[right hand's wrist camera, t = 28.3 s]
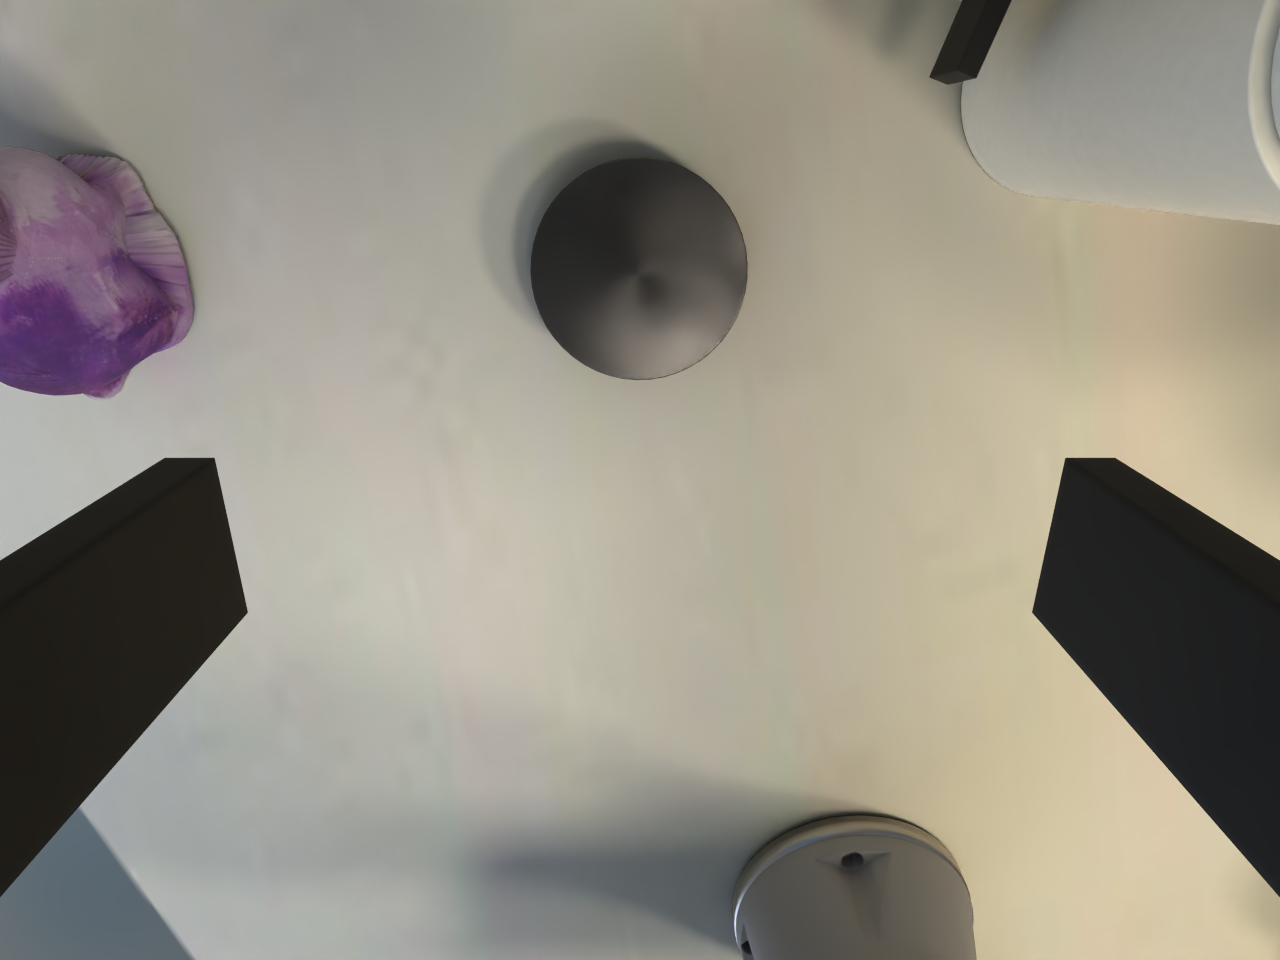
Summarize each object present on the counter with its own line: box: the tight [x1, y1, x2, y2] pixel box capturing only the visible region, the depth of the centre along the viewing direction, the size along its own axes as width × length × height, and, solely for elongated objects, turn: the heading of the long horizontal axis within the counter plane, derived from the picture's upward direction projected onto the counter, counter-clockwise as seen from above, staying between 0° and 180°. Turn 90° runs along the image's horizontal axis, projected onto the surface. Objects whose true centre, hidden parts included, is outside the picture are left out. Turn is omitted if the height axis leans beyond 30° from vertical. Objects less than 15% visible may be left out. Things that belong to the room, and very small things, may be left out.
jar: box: [961, 0, 1280, 225], centre depth 25 cm, size 9×9×19 cm
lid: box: [531, 157, 747, 380], centre depth 36 cm, size 10×10×2 cm
